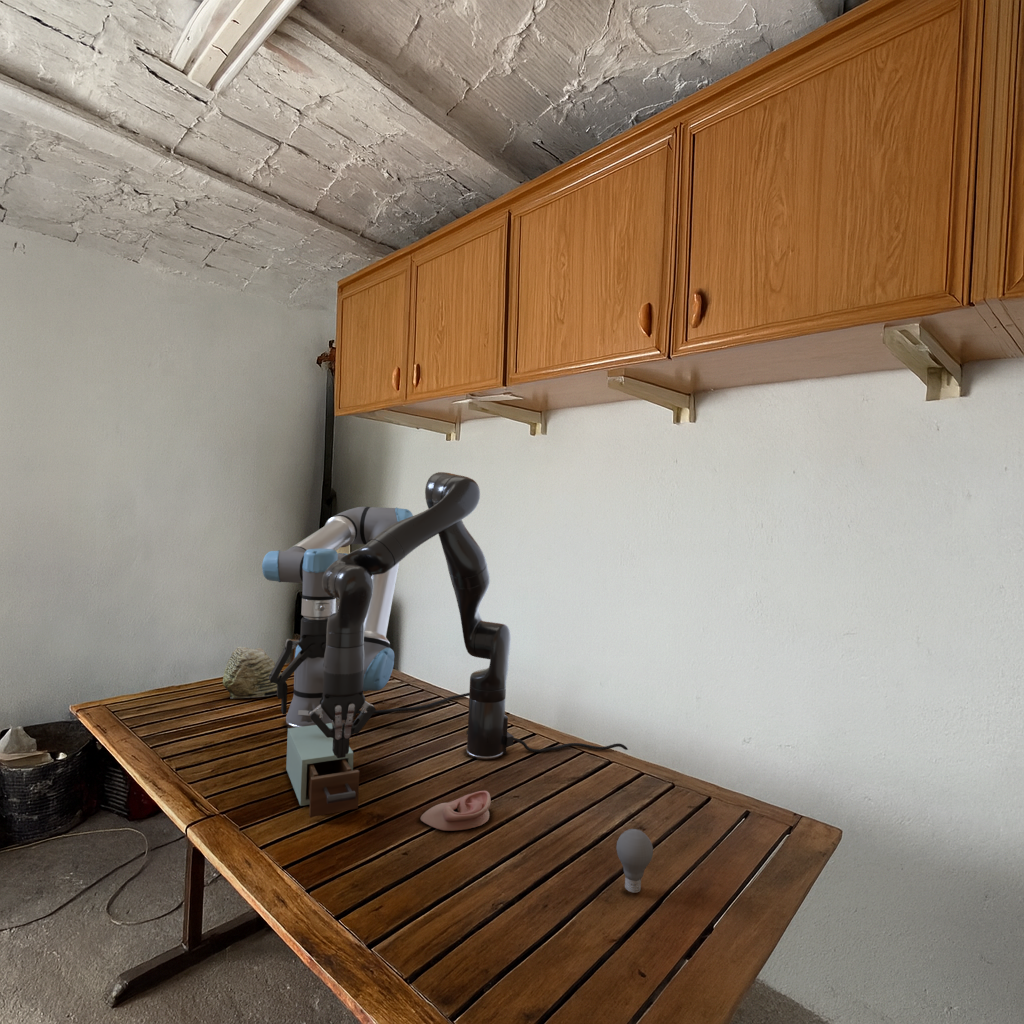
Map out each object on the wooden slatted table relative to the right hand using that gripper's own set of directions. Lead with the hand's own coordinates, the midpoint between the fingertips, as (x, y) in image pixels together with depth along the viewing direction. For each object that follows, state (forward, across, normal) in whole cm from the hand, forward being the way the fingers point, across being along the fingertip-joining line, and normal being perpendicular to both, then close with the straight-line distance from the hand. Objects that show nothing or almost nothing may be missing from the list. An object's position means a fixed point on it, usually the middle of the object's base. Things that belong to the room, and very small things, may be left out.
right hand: (340, 756), depth 122 cm
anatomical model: (+14, +22, -6) cm, 27 cm away
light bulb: (+14, +40, -40) cm, 58 cm away
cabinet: (+14, 0, +20) cm, 24 cm away
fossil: (+14, -6, +89) cm, 90 cm away
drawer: (+13, 0, +9) cm, 16 cm away
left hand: (-1, 0, +26) cm, 26 cm away
